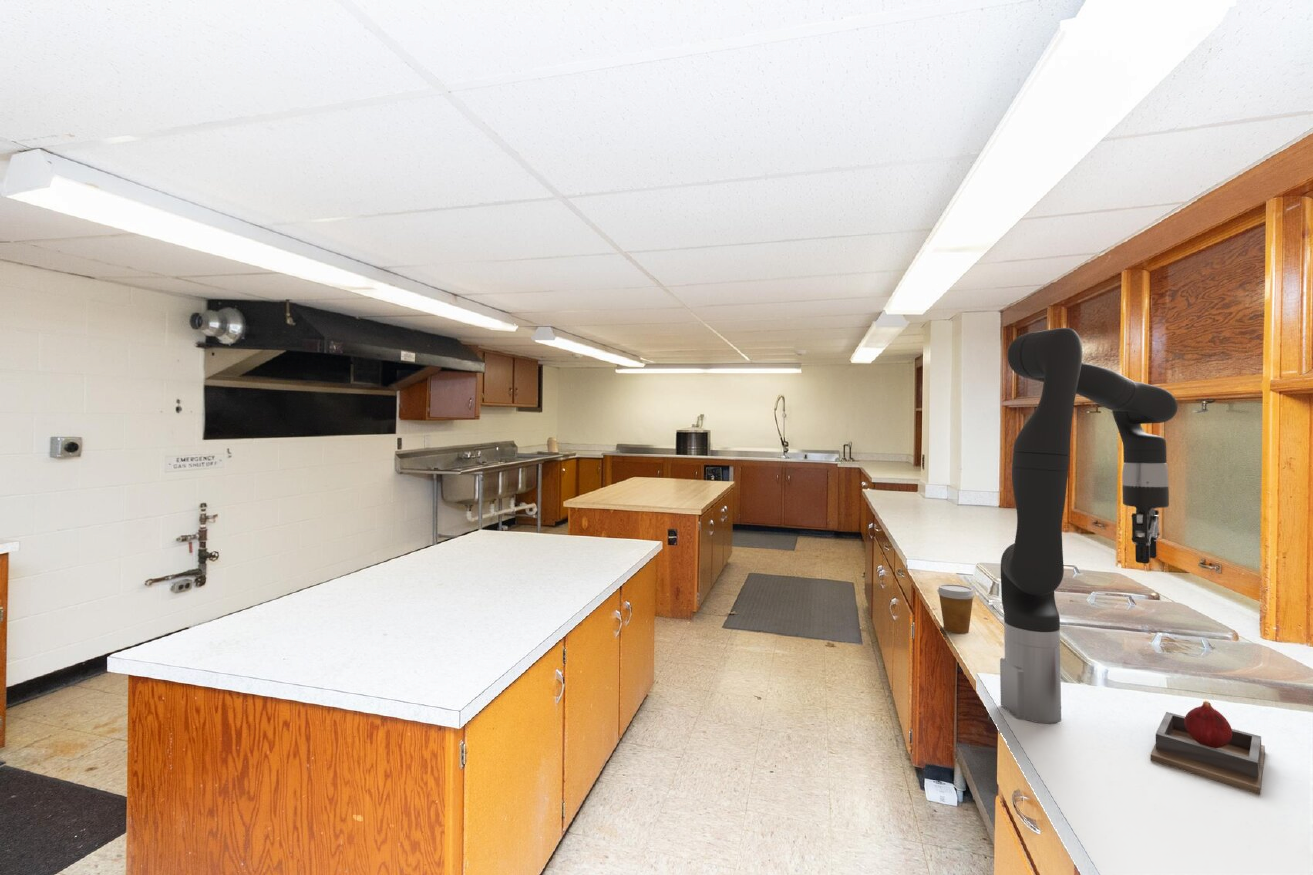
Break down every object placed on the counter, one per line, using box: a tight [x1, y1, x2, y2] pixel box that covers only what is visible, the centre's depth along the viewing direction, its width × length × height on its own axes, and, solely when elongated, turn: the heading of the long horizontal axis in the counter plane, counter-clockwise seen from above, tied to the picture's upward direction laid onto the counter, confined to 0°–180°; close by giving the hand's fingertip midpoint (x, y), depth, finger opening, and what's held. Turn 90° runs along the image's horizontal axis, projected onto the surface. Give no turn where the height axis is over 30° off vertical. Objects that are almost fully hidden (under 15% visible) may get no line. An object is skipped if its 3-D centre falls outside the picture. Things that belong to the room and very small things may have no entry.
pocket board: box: [1149, 711, 1266, 795], centre depth 97 cm, size 18×13×4 cm
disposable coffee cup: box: [936, 583, 976, 634], centre depth 163 cm, size 10×10×12 cm
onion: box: [1184, 700, 1233, 748], centre depth 97 cm, size 6×6×8 cm
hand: (1146, 560), depth 121 cm, fingers open, 8 cm apart
